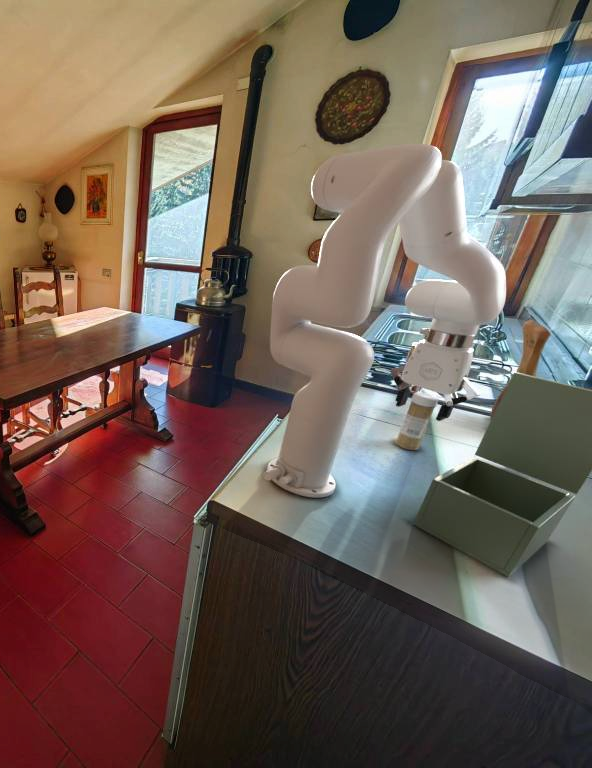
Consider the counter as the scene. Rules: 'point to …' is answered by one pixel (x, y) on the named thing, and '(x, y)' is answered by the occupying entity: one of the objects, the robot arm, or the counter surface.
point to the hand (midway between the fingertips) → (419, 411)
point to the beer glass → (412, 388)
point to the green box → (492, 513)
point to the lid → (542, 431)
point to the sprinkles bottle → (416, 420)
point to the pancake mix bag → (528, 353)
